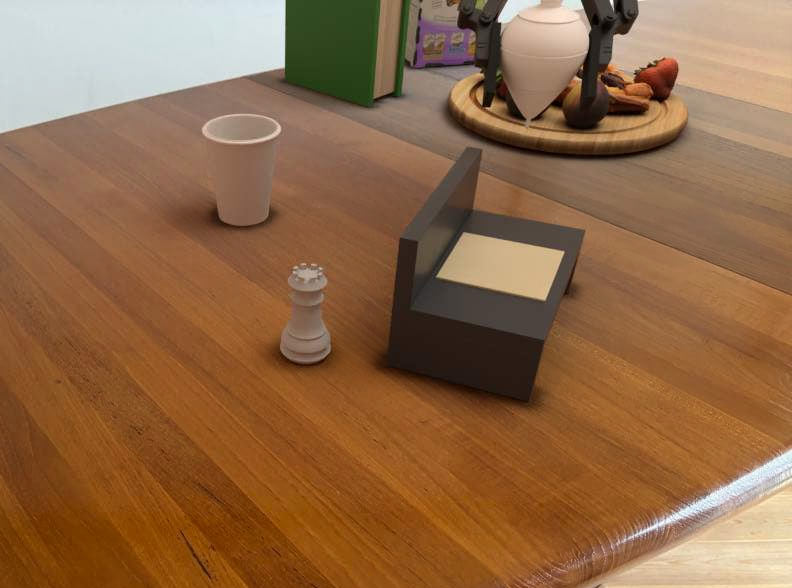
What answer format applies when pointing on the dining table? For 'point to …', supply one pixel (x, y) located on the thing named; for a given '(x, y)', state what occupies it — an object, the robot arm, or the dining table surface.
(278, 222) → the dining table surface
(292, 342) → the rook chess piece
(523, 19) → the spinning top
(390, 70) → the hardback book
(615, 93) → the wooden plate
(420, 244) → the dark l-shaped stand
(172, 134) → the dining table surface
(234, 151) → the dixie cup
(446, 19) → the candy box
